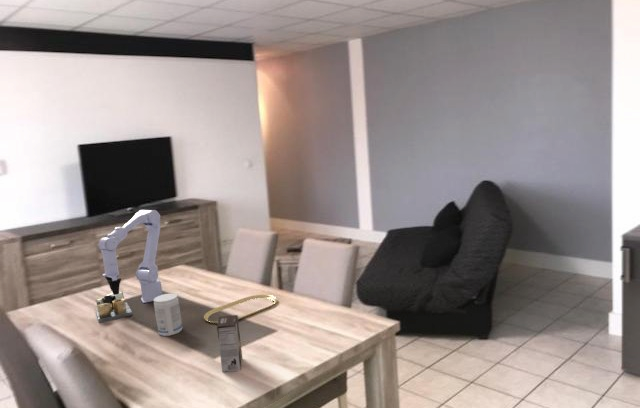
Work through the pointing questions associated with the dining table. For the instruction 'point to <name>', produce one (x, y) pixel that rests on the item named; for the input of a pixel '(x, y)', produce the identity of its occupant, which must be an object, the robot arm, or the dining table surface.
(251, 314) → the loop handle
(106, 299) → the pneumatic valve
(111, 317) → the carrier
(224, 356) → the coffee box
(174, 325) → the supplement tub
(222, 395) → the dining table surface
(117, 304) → the tan hollow octagonal prism
